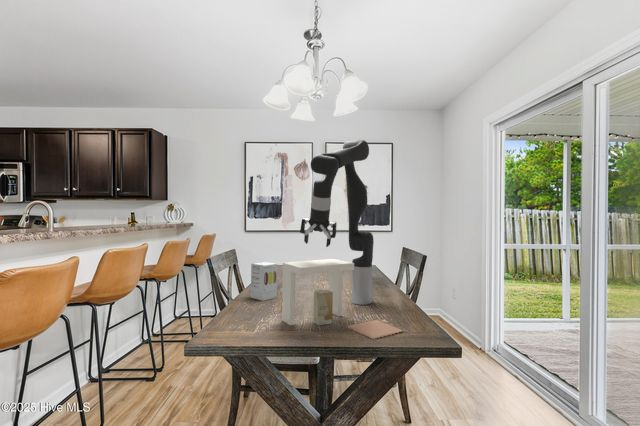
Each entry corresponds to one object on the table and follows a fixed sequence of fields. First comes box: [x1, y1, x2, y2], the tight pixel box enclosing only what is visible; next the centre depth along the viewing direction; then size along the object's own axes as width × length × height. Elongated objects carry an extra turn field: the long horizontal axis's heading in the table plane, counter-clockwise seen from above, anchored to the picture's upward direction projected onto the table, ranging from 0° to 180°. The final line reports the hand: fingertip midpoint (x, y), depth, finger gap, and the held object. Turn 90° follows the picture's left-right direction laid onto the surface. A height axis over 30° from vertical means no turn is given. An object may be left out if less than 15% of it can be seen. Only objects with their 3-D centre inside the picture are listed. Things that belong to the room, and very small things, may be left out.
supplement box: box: [250, 261, 278, 302], centre depth 170 cm, size 10×9×17 cm
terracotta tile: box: [347, 319, 404, 340], centre depth 125 cm, size 14×14×1 cm
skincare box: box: [312, 289, 333, 326], centre depth 132 cm, size 6×4×12 cm
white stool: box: [281, 258, 354, 326], centre depth 135 cm, size 24×14×22 cm, turn 123°
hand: (316, 244), depth 141 cm, fingers open, 8 cm apart
